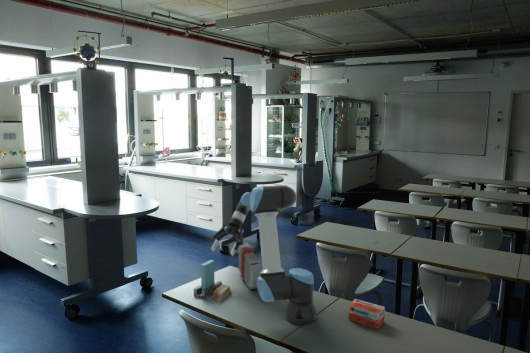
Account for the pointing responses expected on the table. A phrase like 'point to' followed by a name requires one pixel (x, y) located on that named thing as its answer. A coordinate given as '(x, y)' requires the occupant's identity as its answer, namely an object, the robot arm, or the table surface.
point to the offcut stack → (221, 293)
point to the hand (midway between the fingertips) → (221, 252)
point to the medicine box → (366, 313)
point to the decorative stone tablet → (248, 266)
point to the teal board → (207, 274)
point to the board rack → (206, 290)
